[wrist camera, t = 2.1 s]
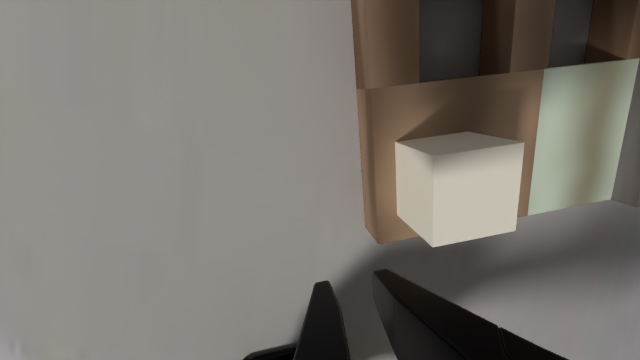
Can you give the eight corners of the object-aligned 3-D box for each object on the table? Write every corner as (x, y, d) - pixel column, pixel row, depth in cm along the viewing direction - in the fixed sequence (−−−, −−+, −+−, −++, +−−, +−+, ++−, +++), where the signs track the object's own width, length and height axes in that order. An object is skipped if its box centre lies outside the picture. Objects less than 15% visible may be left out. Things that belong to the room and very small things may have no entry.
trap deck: (365, 227, 21) (388, 257, 17) (348, -42, 16) (375, -84, 12) (584, 186, 23) (646, 205, 20) (625, -55, 19) (718, -92, 15)
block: (397, 214, 18) (432, 247, 14) (395, 141, 17) (433, 156, 13) (464, 202, 19) (515, 231, 15) (467, 131, 17) (524, 142, 14)
